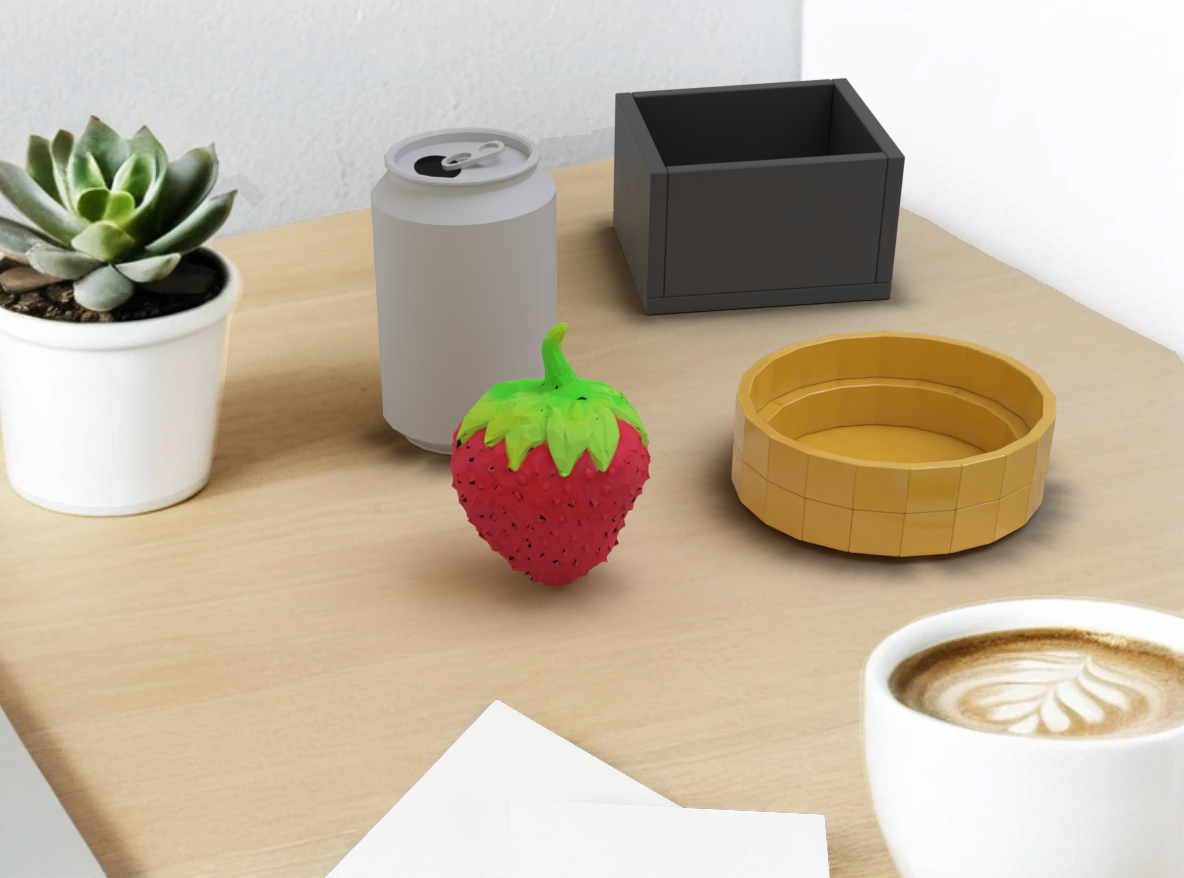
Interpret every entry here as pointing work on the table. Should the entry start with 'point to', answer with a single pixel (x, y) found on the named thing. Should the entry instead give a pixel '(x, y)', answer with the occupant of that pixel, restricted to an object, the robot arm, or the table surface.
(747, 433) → the bowl
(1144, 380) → the table surface
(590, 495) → the strawberry
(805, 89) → the bin
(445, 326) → the can
